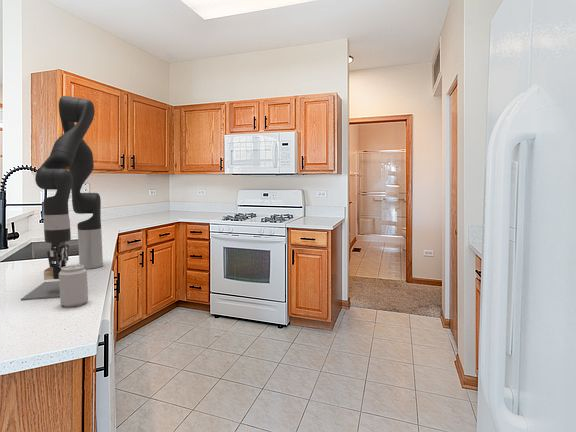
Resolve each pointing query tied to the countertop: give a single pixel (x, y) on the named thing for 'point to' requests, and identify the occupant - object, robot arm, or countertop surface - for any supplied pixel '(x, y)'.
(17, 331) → the countertop surface
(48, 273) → the beige rectangular block
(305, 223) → the countertop surface
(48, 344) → the countertop surface
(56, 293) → the mat
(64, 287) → the can
